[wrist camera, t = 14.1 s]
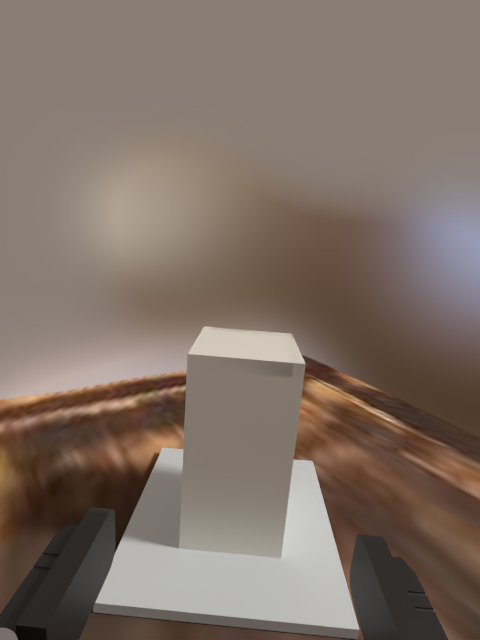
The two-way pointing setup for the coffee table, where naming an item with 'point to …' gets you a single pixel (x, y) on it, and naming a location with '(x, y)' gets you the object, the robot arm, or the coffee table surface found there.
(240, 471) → the cream box
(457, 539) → the coffee table surface
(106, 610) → the grey mat
